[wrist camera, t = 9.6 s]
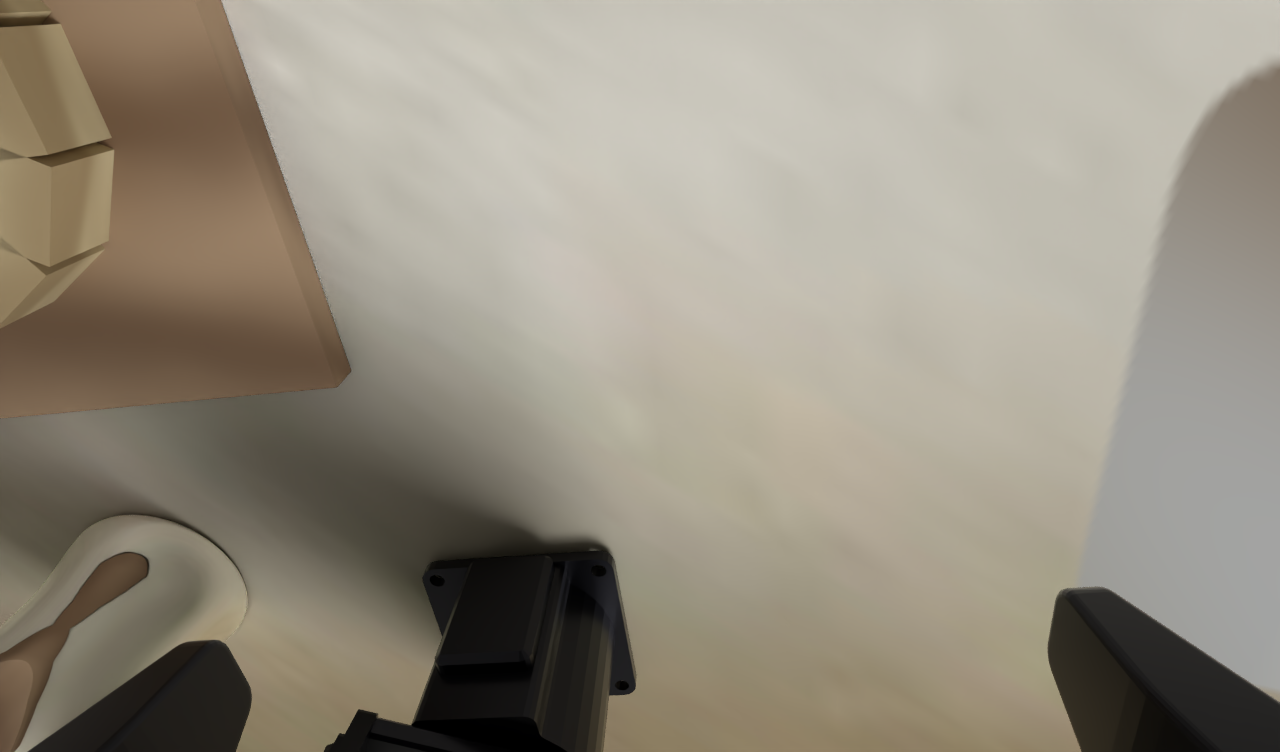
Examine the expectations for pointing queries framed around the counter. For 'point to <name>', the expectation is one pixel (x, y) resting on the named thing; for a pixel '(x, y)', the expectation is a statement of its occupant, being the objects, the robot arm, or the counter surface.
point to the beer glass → (110, 620)
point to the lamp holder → (145, 217)
